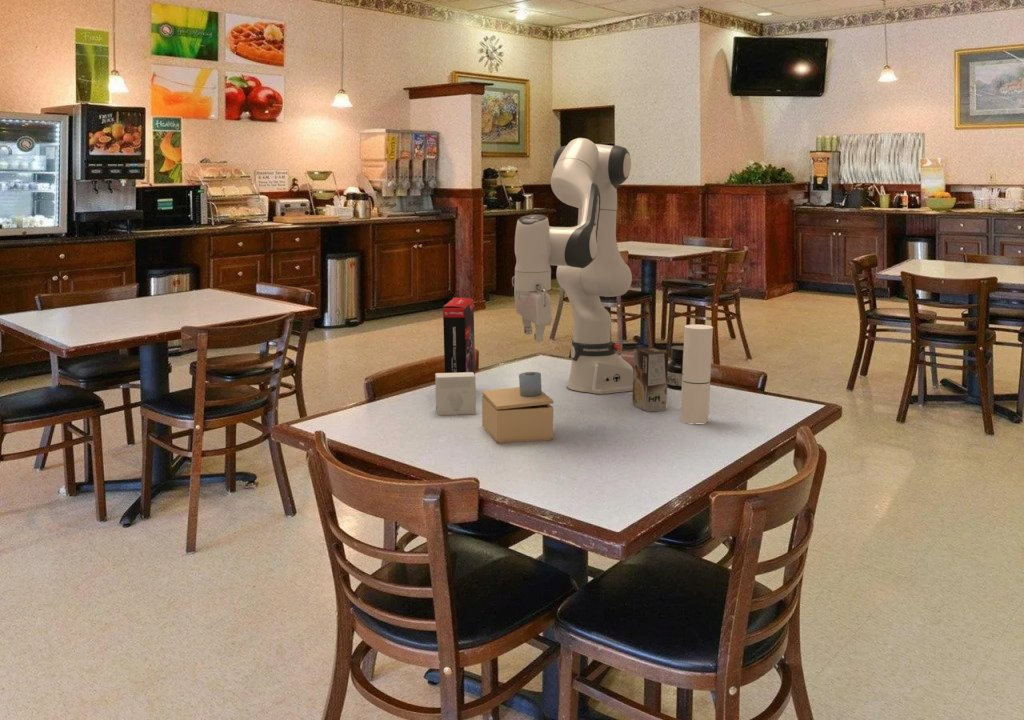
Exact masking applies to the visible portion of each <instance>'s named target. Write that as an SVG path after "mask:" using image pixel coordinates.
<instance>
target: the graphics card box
mask: <svg viewBox="0 0 1024 720" xmlns="http://www.w3.org/2000/svg"><path fill="white" fill-rule="evenodd" d="M474 303H475V302H474V299H473V298H469V297H452V298H451V300H449V301H448V302H447V303H446V304H443V306H442V316H443V317H442V318H443V319H442V322H443V355H444V357H443V360H444V362H443V363H444V373H463V372H473V373H474V375H475V376H476V355H475V354H476V353H475V352H476V351H475V350H476V349H475V345H476V343H475V313H474V312H475V311H474V310H475V309H474Z"/></svg>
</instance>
